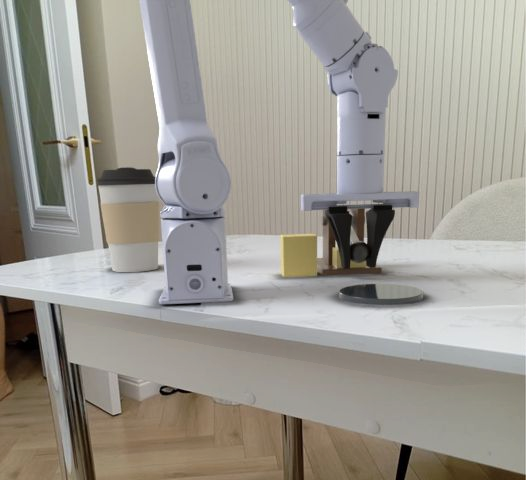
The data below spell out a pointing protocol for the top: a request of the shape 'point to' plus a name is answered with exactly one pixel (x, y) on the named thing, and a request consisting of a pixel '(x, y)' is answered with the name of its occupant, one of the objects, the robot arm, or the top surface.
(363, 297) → the plate
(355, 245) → the ball knob lever
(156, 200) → the coffee cup
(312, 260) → the butter portion
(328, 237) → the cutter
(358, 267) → the butter block
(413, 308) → the top surface
